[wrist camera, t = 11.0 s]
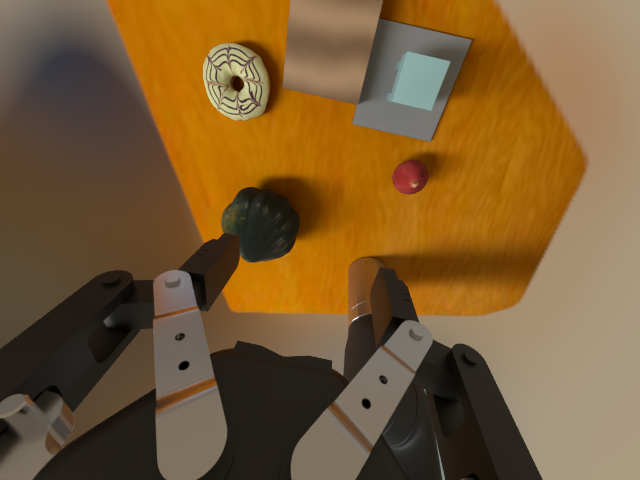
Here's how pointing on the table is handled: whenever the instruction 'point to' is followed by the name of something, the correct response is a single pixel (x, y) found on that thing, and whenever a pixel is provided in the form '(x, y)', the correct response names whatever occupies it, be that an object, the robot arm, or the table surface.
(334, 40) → the brown wooden square block
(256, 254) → the squash
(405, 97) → the two-pronged teal block
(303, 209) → the table surface
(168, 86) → the table surface
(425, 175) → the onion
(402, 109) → the mat
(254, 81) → the decorated donut
